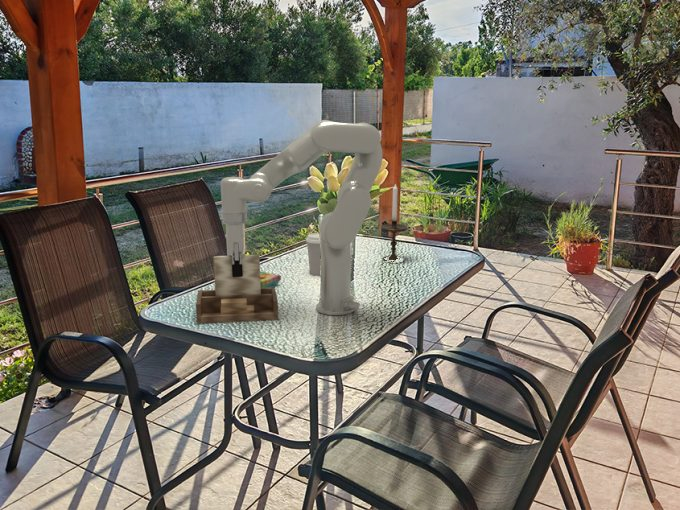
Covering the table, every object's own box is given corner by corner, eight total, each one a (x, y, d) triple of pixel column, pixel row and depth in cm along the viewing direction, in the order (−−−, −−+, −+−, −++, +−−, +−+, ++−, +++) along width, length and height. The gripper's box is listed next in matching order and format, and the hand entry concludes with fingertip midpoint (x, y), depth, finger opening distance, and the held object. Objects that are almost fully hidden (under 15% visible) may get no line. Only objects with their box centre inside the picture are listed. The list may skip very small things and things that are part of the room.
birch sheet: (260, 296, 207) (259, 254, 203) (260, 298, 205) (259, 255, 202) (215, 299, 205) (213, 256, 201) (215, 300, 203) (213, 257, 200)
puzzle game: (280, 273, 234) (242, 286, 218) (281, 285, 235) (243, 299, 219) (256, 268, 240) (217, 280, 224) (256, 280, 242) (218, 293, 226)
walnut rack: (275, 307, 210) (274, 287, 209) (278, 322, 197) (277, 300, 195) (199, 311, 206) (198, 290, 205) (197, 326, 193) (196, 304, 191)
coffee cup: (328, 277, 244) (328, 238, 241) (303, 276, 246) (303, 237, 242) (332, 270, 254) (333, 233, 250) (308, 269, 255) (308, 232, 251)
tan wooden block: (253, 312, 203) (253, 297, 202) (254, 317, 198) (254, 302, 197) (221, 314, 201) (220, 298, 200) (221, 319, 197) (220, 303, 195)
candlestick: (407, 264, 264) (410, 178, 255) (380, 264, 264) (382, 178, 255) (405, 257, 275) (407, 174, 266) (379, 257, 275) (381, 174, 266)
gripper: (222, 213, 205) (225, 269, 210) (222, 223, 190) (225, 283, 195) (246, 212, 207) (249, 268, 211) (247, 222, 192) (250, 282, 196)
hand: (237, 275), depth 203 cm, fingers closed on birch sheet, 1 cm apart
